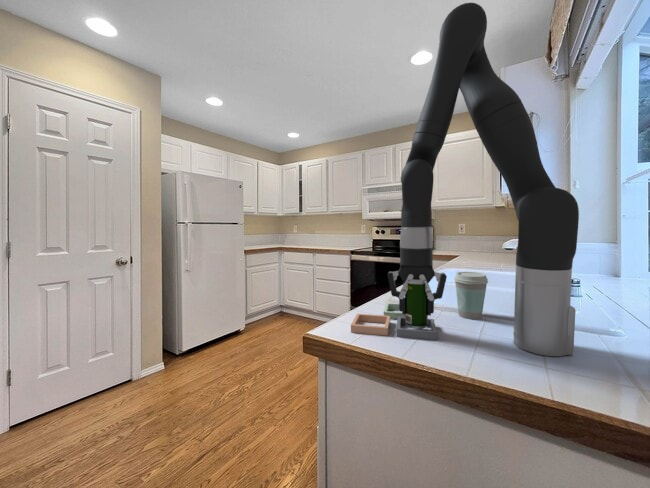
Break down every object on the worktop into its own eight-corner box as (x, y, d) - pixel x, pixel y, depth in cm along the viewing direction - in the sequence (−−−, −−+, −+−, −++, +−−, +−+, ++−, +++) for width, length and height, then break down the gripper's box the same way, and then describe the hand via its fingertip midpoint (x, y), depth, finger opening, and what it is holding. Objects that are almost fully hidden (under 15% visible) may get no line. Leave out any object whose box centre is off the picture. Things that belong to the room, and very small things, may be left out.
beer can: (418, 331, 66) (418, 281, 65) (400, 324, 70) (400, 277, 69) (432, 326, 69) (432, 277, 68) (414, 320, 73) (414, 274, 72)
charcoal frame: (433, 325, 73) (433, 319, 72) (436, 340, 64) (436, 332, 64) (397, 323, 75) (397, 316, 75) (396, 336, 67) (396, 329, 66)
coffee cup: (456, 309, 86) (457, 270, 85) (488, 314, 81) (489, 273, 80) (450, 317, 79) (451, 275, 78) (485, 323, 74) (486, 278, 73)
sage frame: (416, 310, 85) (416, 304, 85) (417, 320, 77) (417, 314, 76) (386, 308, 88) (386, 302, 88) (383, 318, 79) (383, 311, 79)
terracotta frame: (390, 322, 76) (390, 316, 76) (387, 335, 67) (387, 328, 67) (357, 319, 78) (357, 313, 78) (350, 332, 70) (350, 325, 70)
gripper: (446, 244, 69) (445, 311, 71) (387, 244, 74) (387, 307, 75) (450, 247, 62) (449, 321, 64) (384, 247, 66) (385, 316, 68)
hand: (416, 313), depth 69 cm, fingers closed on beer can, 5 cm apart
